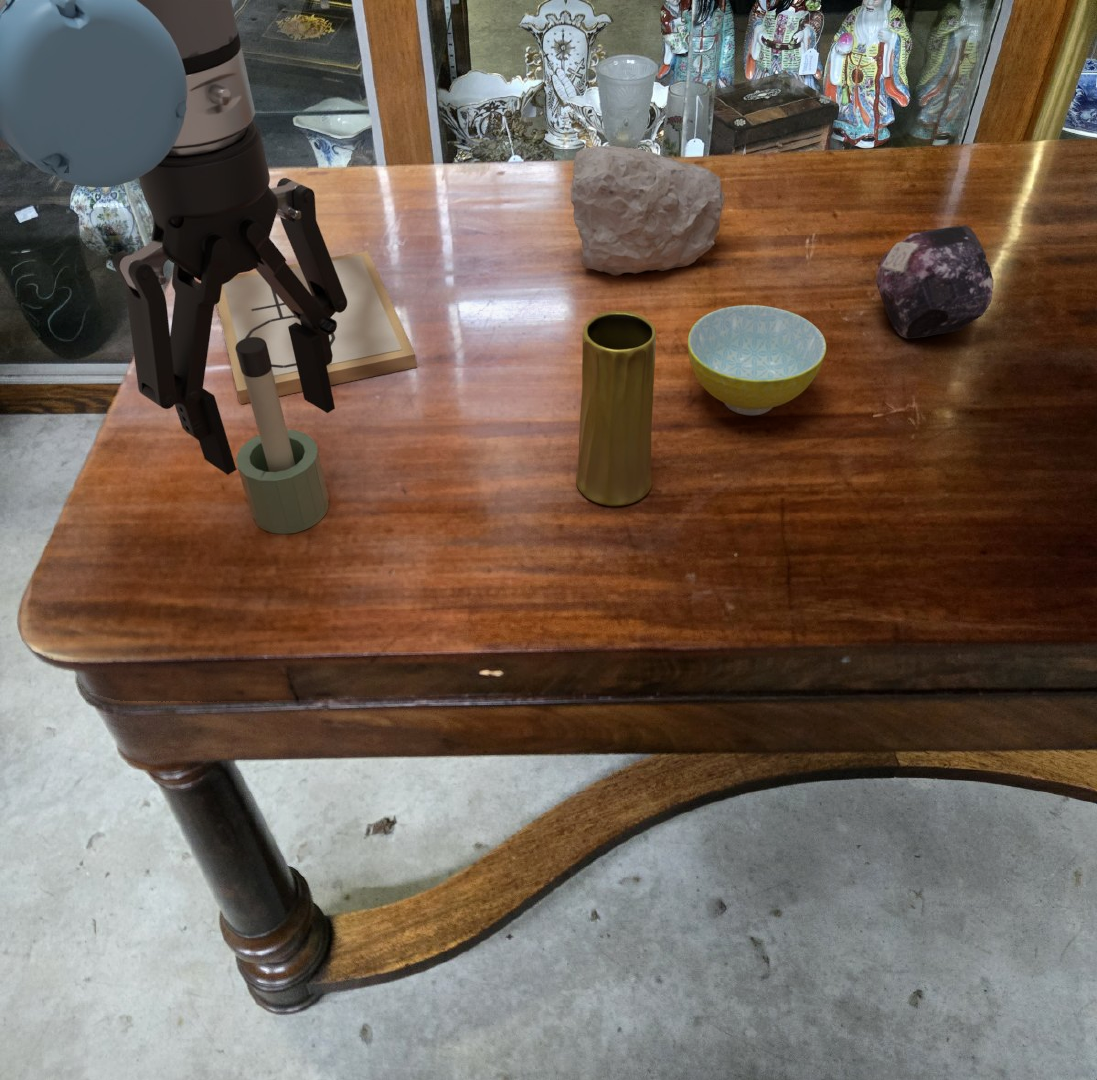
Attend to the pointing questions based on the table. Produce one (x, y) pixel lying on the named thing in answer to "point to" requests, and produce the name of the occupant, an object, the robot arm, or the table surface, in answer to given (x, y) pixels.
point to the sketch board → (357, 344)
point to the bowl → (755, 356)
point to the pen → (265, 402)
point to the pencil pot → (284, 486)
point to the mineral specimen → (935, 282)
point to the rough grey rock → (642, 209)
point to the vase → (616, 408)
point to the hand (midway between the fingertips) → (271, 433)
